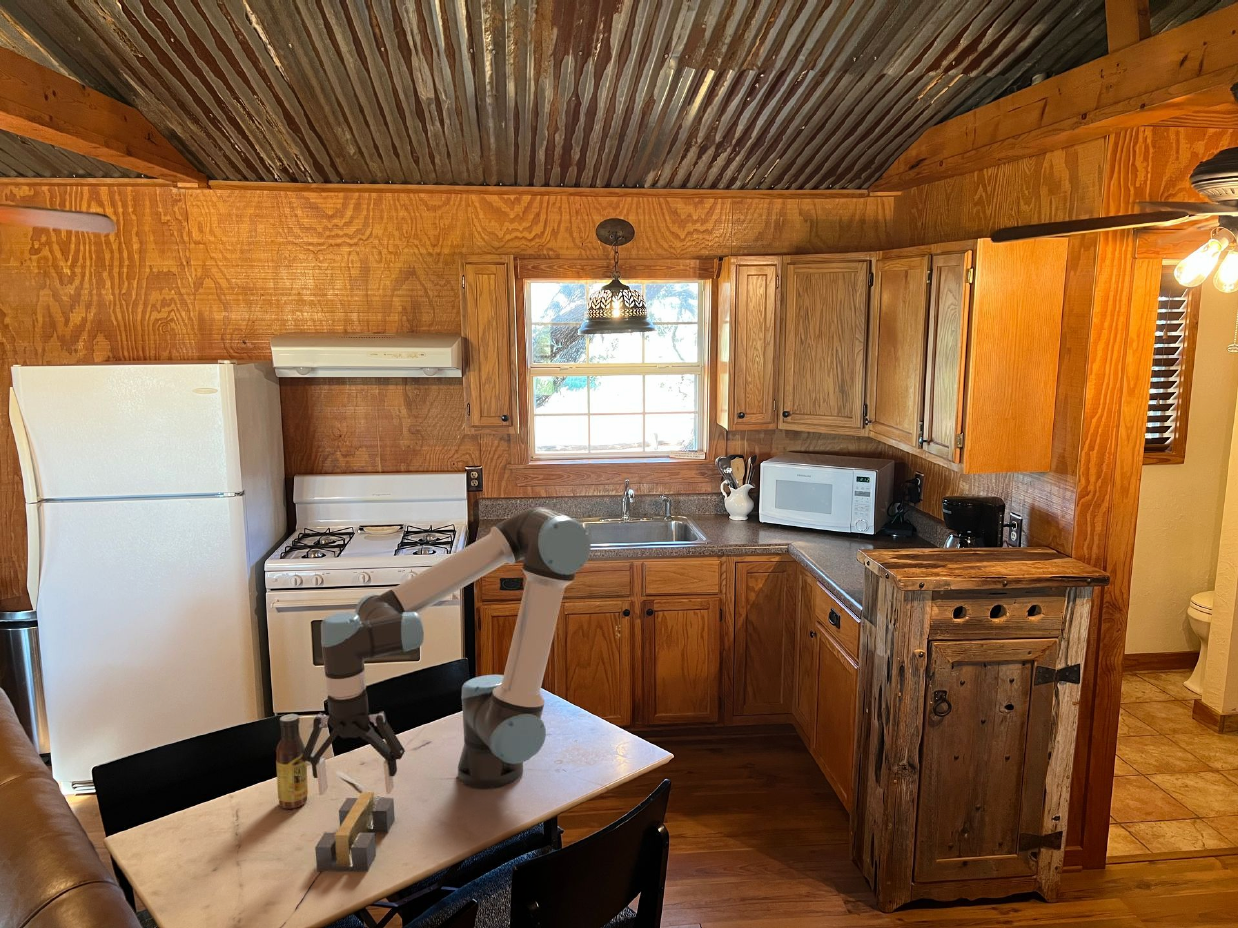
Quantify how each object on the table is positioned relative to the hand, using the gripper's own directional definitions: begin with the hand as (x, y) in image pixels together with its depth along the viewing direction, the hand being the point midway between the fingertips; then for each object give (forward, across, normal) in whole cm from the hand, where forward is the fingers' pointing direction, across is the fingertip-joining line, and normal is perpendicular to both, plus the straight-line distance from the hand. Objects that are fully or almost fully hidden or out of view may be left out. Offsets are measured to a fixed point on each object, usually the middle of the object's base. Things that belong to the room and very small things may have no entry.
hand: (356, 790), depth 179 cm
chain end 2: (+11, +1, +7) cm, 13 cm away
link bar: (+10, +1, 0) cm, 10 cm away
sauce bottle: (+11, +20, -15) cm, 28 cm away
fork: (+12, +9, -23) cm, 27 cm away
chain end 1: (+12, +1, -6) cm, 13 cm away
